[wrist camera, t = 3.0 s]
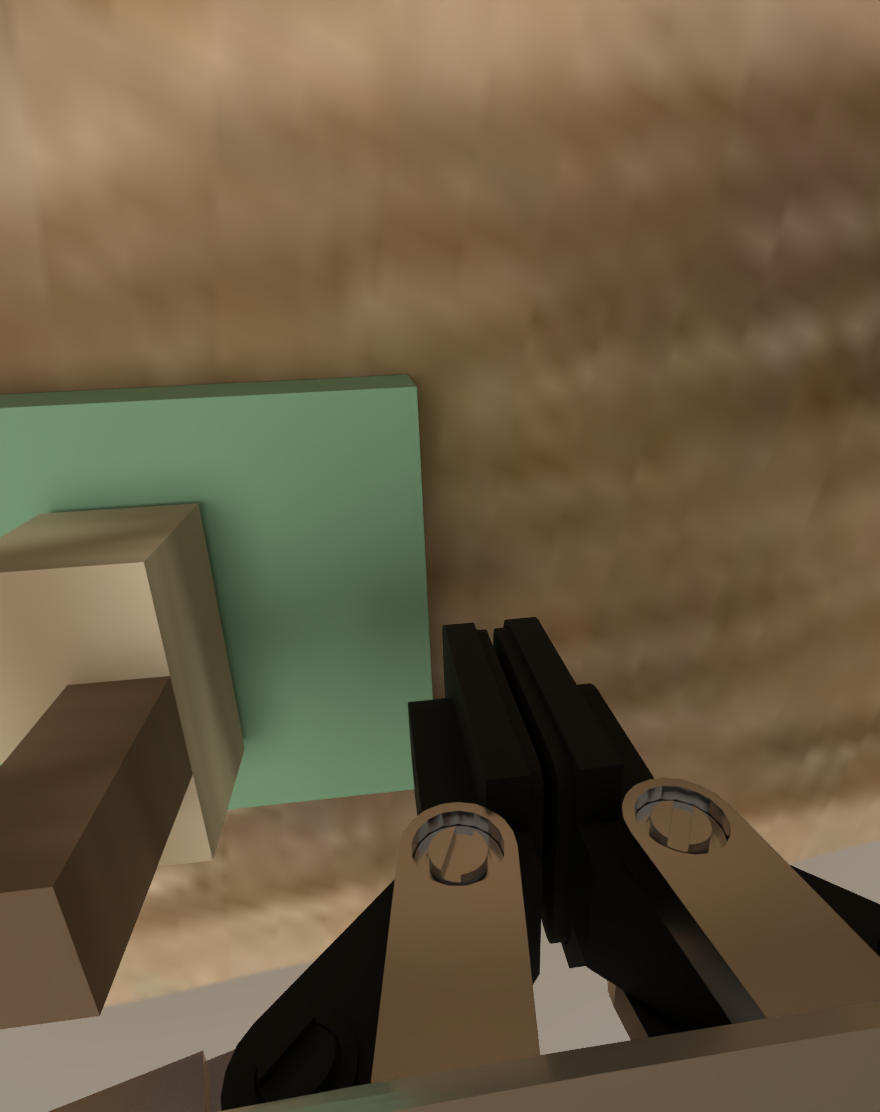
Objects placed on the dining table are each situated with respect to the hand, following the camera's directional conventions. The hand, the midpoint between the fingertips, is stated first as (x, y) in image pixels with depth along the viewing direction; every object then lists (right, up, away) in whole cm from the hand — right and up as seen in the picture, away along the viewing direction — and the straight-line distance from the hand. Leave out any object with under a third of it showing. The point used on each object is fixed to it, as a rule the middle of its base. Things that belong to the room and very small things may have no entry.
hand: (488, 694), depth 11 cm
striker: (-7, +1, +2) cm, 7 cm away
